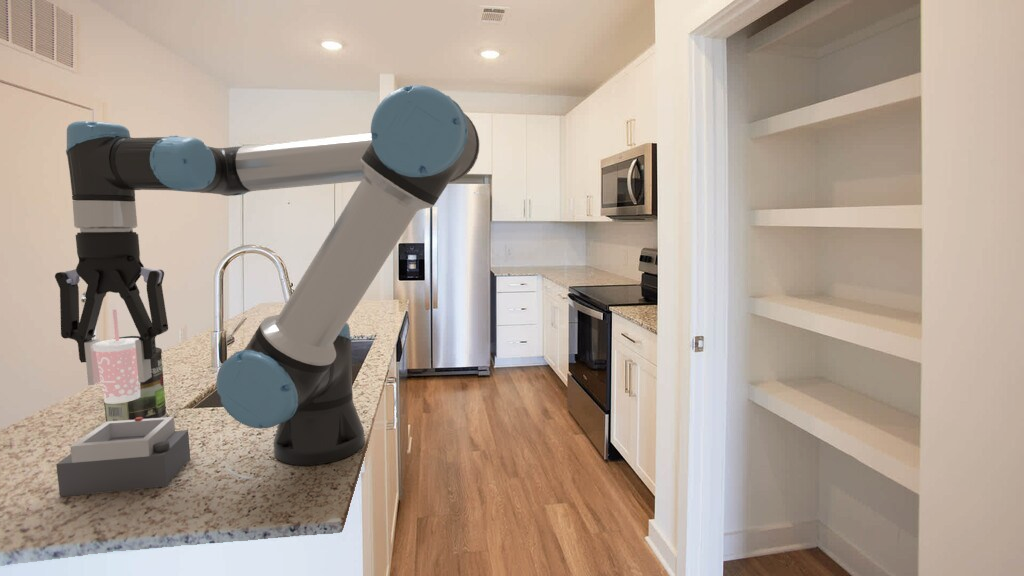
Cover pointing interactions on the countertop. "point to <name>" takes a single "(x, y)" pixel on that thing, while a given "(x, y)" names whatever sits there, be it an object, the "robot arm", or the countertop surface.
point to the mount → (124, 457)
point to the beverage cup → (118, 367)
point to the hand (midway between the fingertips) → (120, 380)
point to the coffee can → (143, 397)
